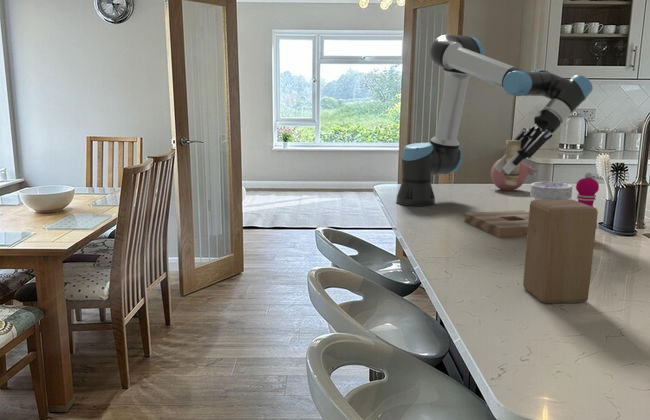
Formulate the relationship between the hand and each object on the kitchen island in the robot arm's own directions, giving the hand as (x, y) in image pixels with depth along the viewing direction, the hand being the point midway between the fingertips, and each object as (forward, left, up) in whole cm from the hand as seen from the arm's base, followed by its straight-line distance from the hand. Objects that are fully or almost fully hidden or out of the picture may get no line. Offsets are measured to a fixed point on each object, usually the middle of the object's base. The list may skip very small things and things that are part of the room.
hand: (501, 170), depth 170 cm
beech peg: (0, +4, -5) cm, 6 cm away
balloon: (-64, +46, -19) cm, 81 cm away
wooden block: (+57, -21, -19) cm, 64 cm away
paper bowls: (-33, +43, -19) cm, 57 cm away
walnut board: (0, +5, -19) cm, 19 cm away
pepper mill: (+18, +17, -19) cm, 31 cm away
